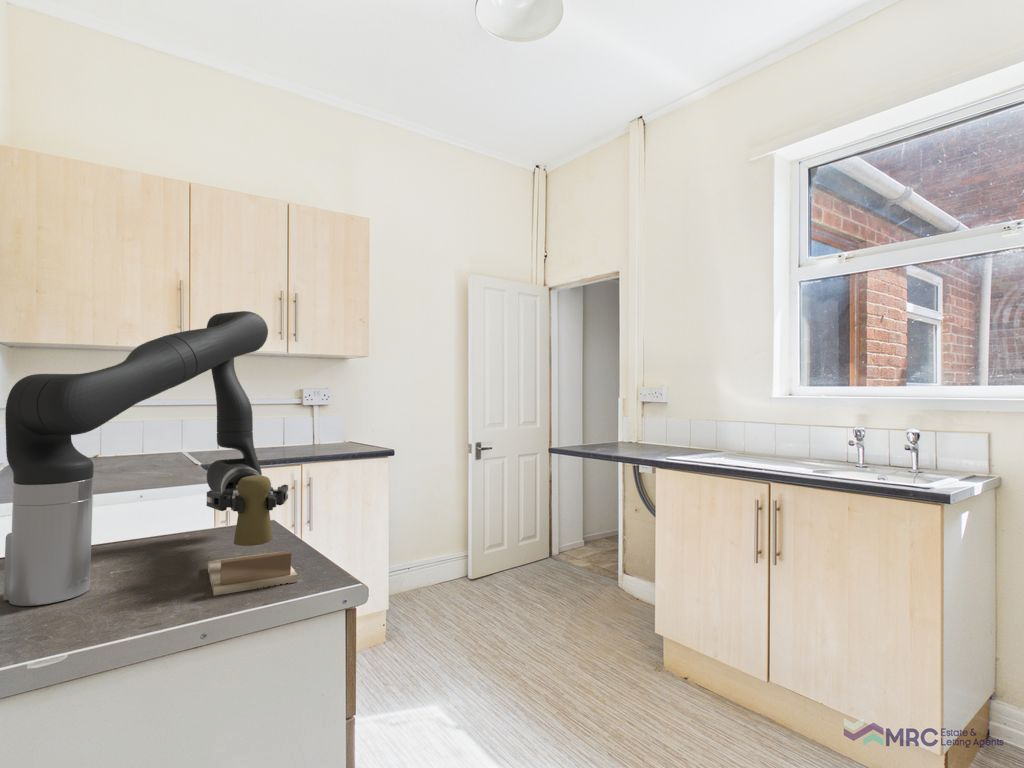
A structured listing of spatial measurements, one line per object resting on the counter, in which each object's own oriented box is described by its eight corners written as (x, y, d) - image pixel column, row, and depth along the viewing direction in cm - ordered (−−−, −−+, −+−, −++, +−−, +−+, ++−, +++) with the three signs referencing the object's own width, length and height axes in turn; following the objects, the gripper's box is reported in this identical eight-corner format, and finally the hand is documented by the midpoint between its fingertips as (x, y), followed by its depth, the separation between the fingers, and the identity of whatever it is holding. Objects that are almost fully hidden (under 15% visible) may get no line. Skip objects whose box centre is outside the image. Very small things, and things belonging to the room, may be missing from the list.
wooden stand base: (207, 568, 94) (208, 541, 95) (281, 558, 101) (281, 532, 101) (213, 595, 82) (214, 564, 82) (297, 582, 88) (297, 553, 88)
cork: (237, 536, 94) (238, 473, 94) (274, 534, 96) (275, 472, 96) (230, 547, 88) (231, 479, 88) (270, 544, 90) (271, 478, 90)
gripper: (201, 471, 100) (207, 487, 86) (283, 465, 108) (301, 479, 93) (200, 511, 100) (206, 534, 86) (282, 503, 108) (300, 523, 93)
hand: (256, 505), depth 90 cm, fingers closed on cork, 4 cm apart
